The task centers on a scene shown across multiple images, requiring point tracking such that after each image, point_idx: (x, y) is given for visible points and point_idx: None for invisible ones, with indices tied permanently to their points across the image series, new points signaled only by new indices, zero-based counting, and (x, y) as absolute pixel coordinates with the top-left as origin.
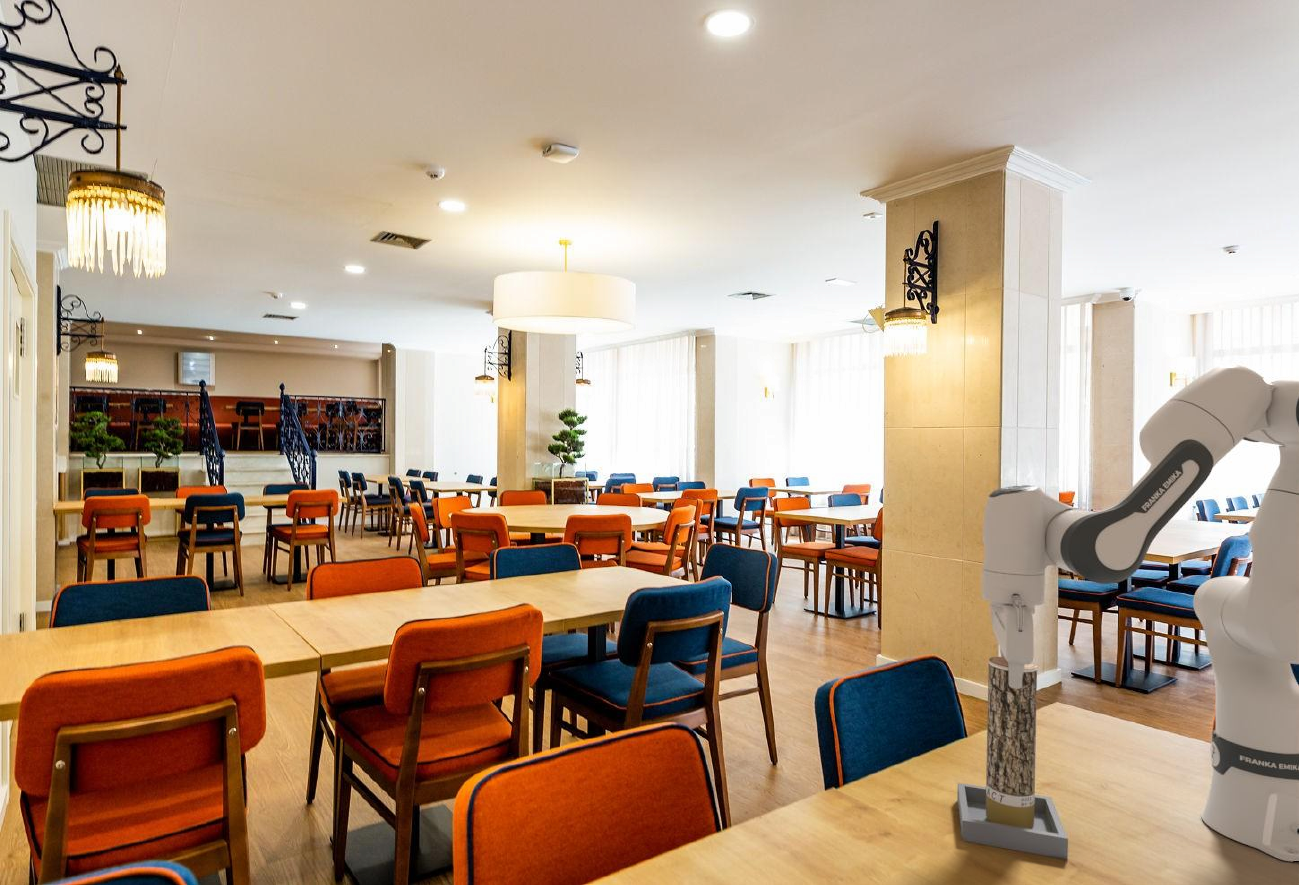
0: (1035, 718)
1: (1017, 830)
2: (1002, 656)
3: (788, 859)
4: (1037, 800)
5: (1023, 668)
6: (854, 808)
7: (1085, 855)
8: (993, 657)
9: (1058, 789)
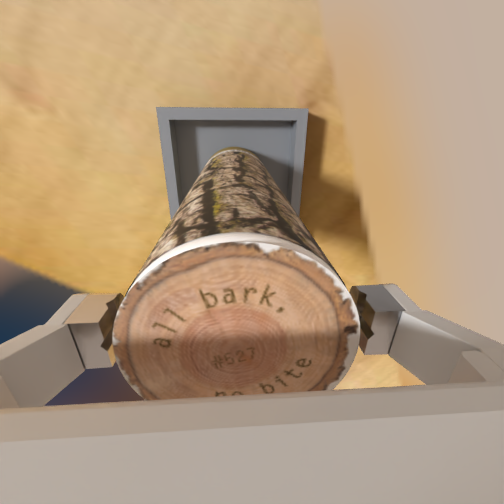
0: (260, 180)
1: (301, 179)
2: (75, 374)
3: (370, 361)
4: (171, 132)
5: (497, 346)
6: None
7: (279, 78)
8: None
9: (31, 71)
